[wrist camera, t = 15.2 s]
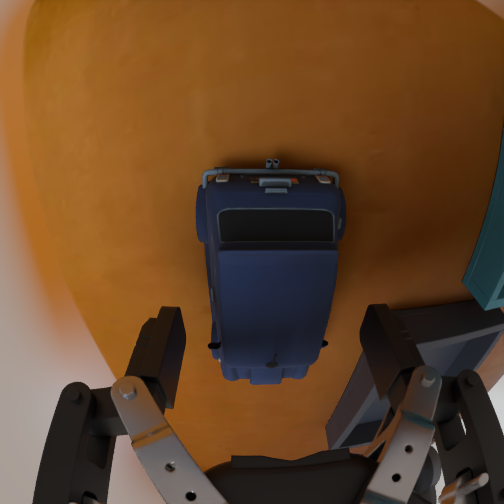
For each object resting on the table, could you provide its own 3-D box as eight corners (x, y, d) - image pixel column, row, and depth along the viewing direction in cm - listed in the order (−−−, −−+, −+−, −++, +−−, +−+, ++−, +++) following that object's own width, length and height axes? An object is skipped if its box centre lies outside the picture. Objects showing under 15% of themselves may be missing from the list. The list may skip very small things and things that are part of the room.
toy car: (217, 347, 18) (210, 425, 13) (199, 154, 11) (164, 201, 7) (308, 346, 18) (322, 421, 13) (338, 156, 11) (398, 204, 7)
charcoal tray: (377, 311, 16) (395, 348, 14) (491, 296, 16) (510, 321, 14) (325, 427, 25) (329, 451, 23) (415, 409, 26) (422, 429, 23)
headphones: (324, 474, 39) (335, 560, 22) (337, 459, 34) (351, 564, 16) (412, 452, 39) (430, 528, 22) (436, 431, 33) (461, 520, 16)
